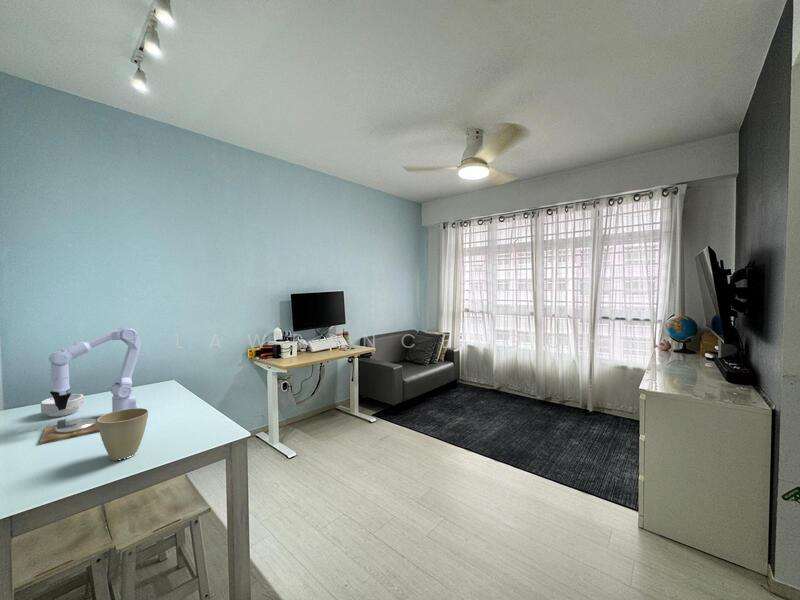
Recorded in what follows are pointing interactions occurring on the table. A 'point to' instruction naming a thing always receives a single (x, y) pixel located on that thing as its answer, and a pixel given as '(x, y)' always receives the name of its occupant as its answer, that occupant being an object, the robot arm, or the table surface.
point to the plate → (52, 436)
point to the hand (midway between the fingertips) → (60, 407)
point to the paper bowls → (72, 406)
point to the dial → (74, 425)
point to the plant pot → (122, 431)
